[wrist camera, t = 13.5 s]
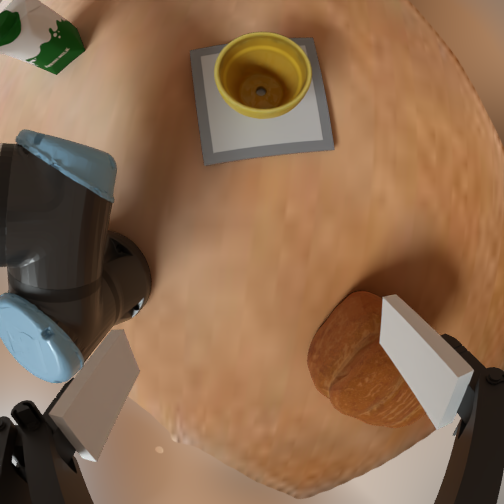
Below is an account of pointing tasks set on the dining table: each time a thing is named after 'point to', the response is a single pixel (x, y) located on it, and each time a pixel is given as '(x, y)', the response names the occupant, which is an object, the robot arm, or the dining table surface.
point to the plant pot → (262, 74)
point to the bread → (360, 366)
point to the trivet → (252, 129)
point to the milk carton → (38, 35)
